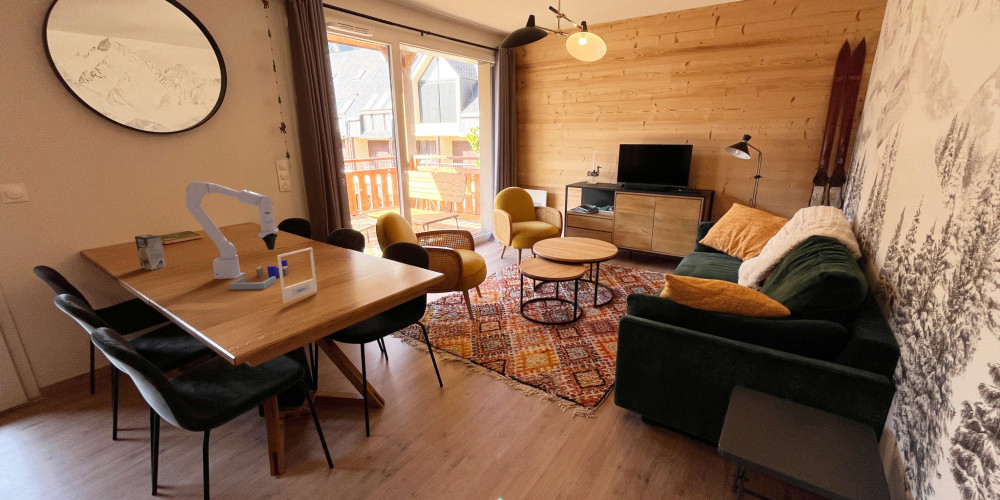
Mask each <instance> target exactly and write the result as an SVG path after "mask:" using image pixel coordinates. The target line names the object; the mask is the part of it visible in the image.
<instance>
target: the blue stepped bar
mask: <svg viewBox="0 0 1000 500" xmlns="http://www.w3.org/2000/svg"><path fill="white" fill-rule="evenodd" d="M281 264H282V267H284V266H288V267H289V264H288V259H281ZM266 269H267V275H268V279H269V278H271V277H272V276H276V280H277V279H280V274H279V266H278V265H277V266H276V265H268V266H267V268H266Z"/></svg>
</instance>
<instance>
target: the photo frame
mask: <svg viewBox="0 0 1000 500" xmlns="http://www.w3.org/2000/svg"><path fill="white" fill-rule="evenodd" d="M307 251H309V255H310V256H309V257H310V264H311V274H312V278H310V279H307V280H304V281H301V282H297V283H295V284H291V285H289V286H285V282H284V281H285V279H284V275H283V271H282V264H281V260H282V258H283V257H287V256H290V255H291V256H292V255H295V254H299V253H303V252H307ZM276 257H277V267H278V266H279V274H280V277H279V280H280V288H281V295H282V302H283V303H284V304H285V303H288V302H291V301H293V300H294V301H295V300H298V299H300V298H302V297H304V296H308V295H311V294H313V293H316V292H318V286H317V278H316V268H315V267H316V266H315V259H314V249H313V247H307V248H302V249H299V250H294V251H291V252H285V253H282V254H277V255H276Z"/></svg>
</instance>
